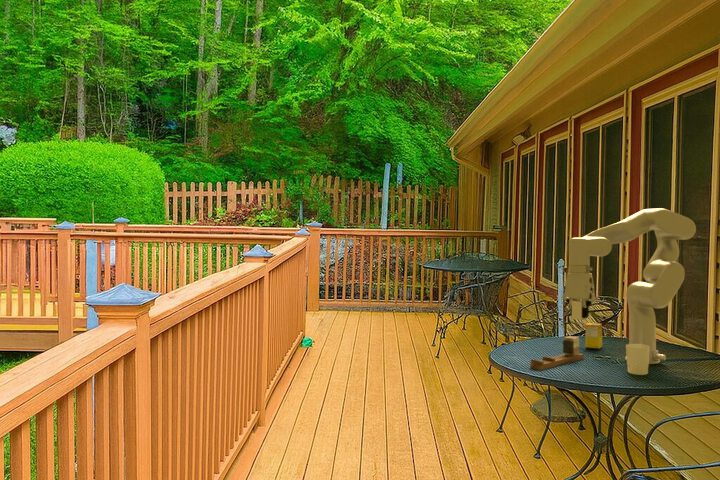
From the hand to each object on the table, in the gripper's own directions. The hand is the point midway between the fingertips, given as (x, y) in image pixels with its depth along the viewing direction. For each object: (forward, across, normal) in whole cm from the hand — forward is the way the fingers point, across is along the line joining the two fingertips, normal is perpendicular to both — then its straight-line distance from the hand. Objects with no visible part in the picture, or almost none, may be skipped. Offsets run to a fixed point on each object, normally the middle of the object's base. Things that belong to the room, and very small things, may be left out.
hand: (579, 316), depth 228 cm
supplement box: (+19, +14, -36) cm, 43 cm away
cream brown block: (+1, 0, 0) cm, 1 cm away
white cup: (+19, -20, -7) cm, 28 cm away
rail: (+19, +9, +1) cm, 21 cm away
